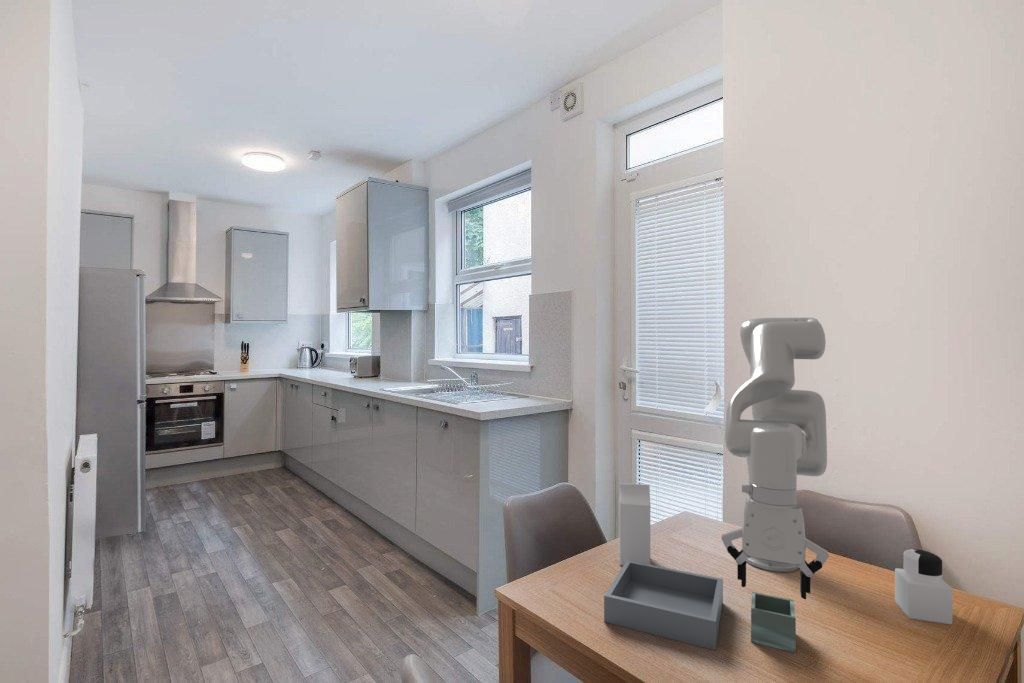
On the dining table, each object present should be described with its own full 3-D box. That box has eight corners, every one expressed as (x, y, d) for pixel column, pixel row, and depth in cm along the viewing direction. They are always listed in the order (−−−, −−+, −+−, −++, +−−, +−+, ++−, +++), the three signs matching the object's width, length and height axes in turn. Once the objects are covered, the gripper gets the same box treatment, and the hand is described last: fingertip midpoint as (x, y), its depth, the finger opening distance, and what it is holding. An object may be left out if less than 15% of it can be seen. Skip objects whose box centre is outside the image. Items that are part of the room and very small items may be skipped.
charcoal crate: (626, 582, 113) (626, 560, 113) (722, 603, 105) (723, 578, 105) (604, 621, 97) (604, 595, 97) (715, 650, 88) (715, 621, 88)
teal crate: (751, 622, 97) (751, 591, 97) (793, 632, 94) (793, 600, 94) (751, 642, 91) (751, 608, 91) (795, 652, 88) (795, 618, 88)
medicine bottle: (935, 607, 103) (935, 548, 103) (953, 625, 97) (953, 562, 97) (894, 601, 106) (894, 544, 106) (908, 619, 99) (908, 557, 99)
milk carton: (650, 568, 120) (650, 488, 120) (619, 565, 122) (620, 487, 122) (648, 556, 127) (648, 480, 127) (619, 553, 129) (619, 479, 129)
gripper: (720, 493, 93) (719, 587, 92) (831, 507, 85) (831, 610, 85) (723, 484, 100) (722, 572, 99) (826, 496, 92) (826, 592, 91)
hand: (772, 589), depth 92 cm, fingers open, 9 cm apart
